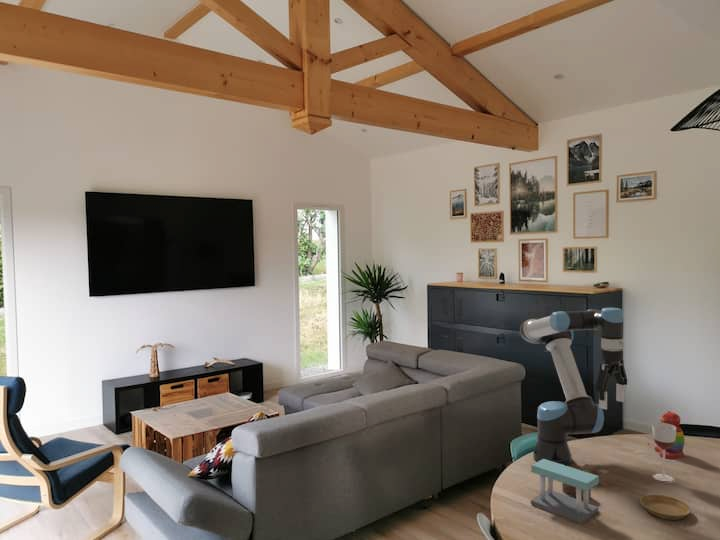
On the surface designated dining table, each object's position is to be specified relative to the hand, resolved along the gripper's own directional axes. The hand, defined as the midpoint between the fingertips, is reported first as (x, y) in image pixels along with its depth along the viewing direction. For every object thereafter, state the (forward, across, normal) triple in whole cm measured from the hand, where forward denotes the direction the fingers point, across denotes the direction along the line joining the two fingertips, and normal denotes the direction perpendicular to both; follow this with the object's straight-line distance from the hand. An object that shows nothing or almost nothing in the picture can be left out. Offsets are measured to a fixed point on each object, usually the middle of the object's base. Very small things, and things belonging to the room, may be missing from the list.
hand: (611, 404), depth 205 cm
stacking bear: (+29, +42, -5) cm, 51 cm away
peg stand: (+28, -34, 0) cm, 44 cm away
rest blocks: (+29, -14, +2) cm, 32 cm away
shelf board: (+18, -34, 0) cm, 38 cm away
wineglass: (+29, +15, -13) cm, 35 cm away
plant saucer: (+29, -11, -23) cm, 39 cm away
